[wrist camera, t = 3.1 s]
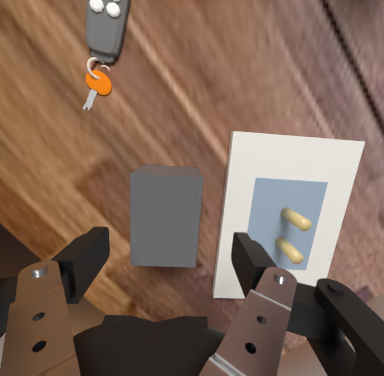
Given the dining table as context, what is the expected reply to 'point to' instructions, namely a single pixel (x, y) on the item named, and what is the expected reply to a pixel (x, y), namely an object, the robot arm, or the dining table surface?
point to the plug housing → (165, 215)
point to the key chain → (104, 40)
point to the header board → (285, 202)
